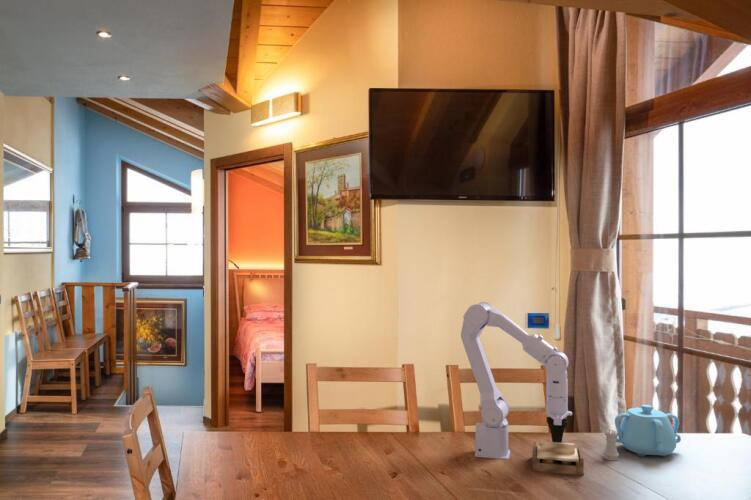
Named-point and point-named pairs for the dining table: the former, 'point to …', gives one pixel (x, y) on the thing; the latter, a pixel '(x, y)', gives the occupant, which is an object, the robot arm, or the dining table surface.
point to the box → (558, 464)
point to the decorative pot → (647, 431)
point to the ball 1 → (547, 461)
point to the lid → (557, 451)
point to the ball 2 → (566, 462)
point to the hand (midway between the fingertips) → (556, 444)
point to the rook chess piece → (611, 446)
